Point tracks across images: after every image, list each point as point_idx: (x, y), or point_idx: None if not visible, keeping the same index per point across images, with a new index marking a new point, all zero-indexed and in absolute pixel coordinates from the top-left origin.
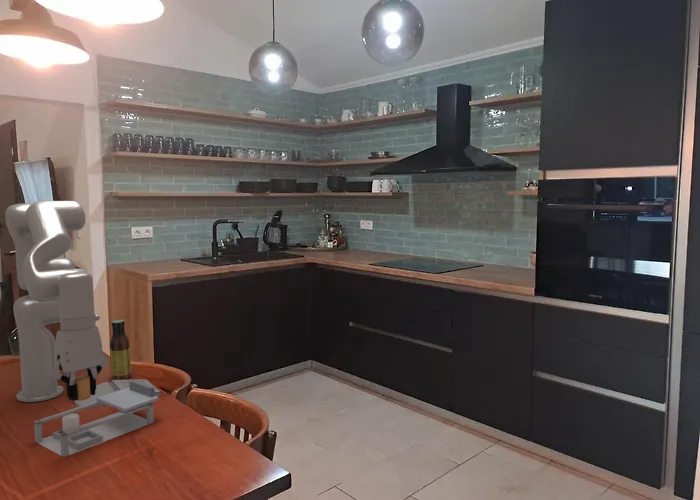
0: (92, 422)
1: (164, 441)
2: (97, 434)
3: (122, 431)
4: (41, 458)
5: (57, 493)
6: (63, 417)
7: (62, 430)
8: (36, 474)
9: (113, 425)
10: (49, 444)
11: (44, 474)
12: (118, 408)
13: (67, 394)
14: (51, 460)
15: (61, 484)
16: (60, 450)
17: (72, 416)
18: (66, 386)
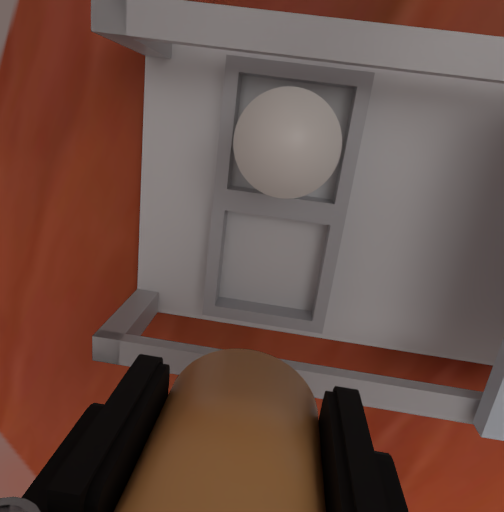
0: (470, 82)
1: (439, 502)
2: (320, 302)
3: (432, 328)
4: (99, 203)
5: (23, 454)
6: (251, 114)
7: (273, 77)
8: (30, 304)
9: (478, 232)
10: (168, 136)
11: (48, 329)
12: (497, 364)
13: (85, 421)
14: (114, 257)
15: (53, 426)
16: (162, 242)
17: (295, 154)
18: (29, 487)
